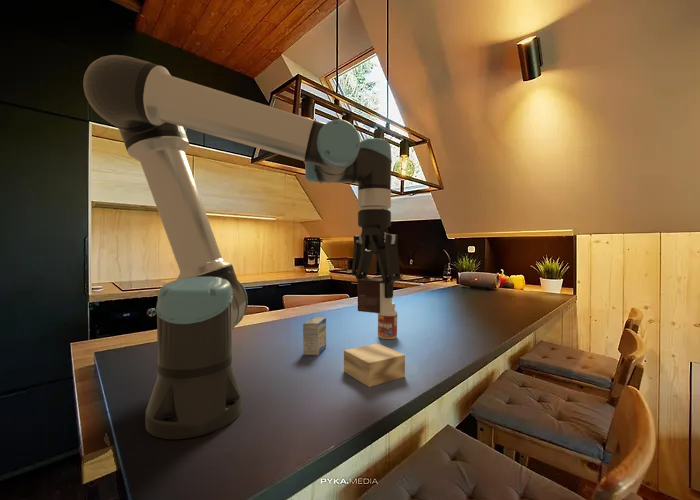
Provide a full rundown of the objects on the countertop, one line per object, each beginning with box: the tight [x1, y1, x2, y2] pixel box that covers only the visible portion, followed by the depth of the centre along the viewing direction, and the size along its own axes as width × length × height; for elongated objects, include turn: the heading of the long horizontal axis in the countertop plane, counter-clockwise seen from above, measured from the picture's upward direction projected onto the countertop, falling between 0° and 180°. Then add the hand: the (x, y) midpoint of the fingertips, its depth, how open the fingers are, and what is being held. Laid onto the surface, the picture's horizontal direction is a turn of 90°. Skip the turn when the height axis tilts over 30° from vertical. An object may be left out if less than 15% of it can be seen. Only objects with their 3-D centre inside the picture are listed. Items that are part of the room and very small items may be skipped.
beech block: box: [343, 343, 406, 388], centre depth 75 cm, size 10×10×5 cm
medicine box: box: [302, 316, 327, 356], centre depth 92 cm, size 8×4×9 cm, turn 168°
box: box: [357, 276, 382, 314], centre depth 75 cm, size 6×6×7 cm
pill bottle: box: [377, 301, 398, 340], centre depth 106 cm, size 6×6×11 cm
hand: (374, 309), depth 75 cm, fingers closed on box, 8 cm apart
